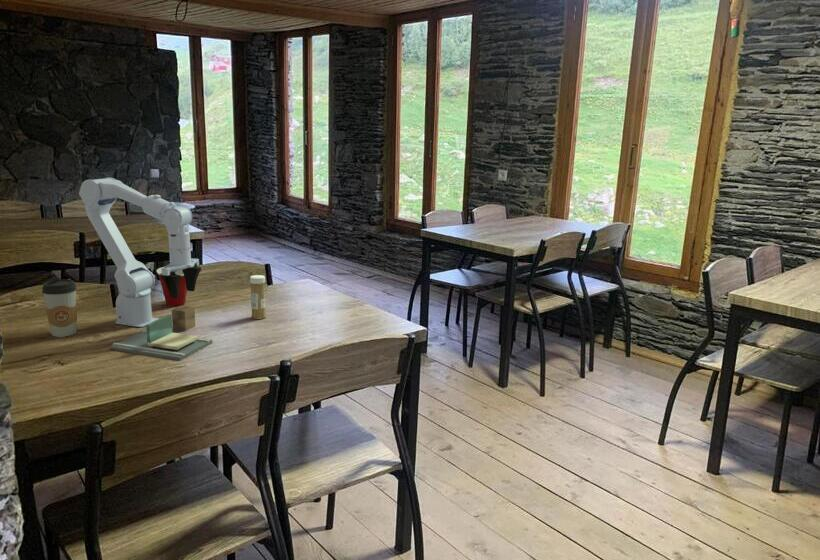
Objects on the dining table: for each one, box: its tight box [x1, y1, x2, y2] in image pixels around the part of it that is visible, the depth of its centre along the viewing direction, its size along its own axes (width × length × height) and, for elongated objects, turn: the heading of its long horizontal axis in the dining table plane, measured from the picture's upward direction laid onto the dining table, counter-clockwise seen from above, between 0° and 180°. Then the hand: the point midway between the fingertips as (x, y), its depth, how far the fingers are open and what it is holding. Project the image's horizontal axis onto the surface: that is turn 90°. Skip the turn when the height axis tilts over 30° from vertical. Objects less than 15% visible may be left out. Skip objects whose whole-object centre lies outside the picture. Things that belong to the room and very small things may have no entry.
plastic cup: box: [156, 266, 188, 307], centre depth 201 cm, size 11×11×12 cm
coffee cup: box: [41, 278, 78, 338], centre depth 170 cm, size 8×8×15 cm
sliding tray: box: [145, 314, 199, 351], centre depth 163 cm, size 9×9×6 cm
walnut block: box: [171, 305, 196, 332], centre depth 179 cm, size 4×4×6 cm
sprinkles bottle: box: [249, 274, 267, 320], centre depth 190 cm, size 5×5×14 cm
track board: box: [109, 330, 213, 361], centre depth 165 cm, size 22×14×1 cm, turn 74°
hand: (182, 294), depth 177 cm, fingers open, 7 cm apart
